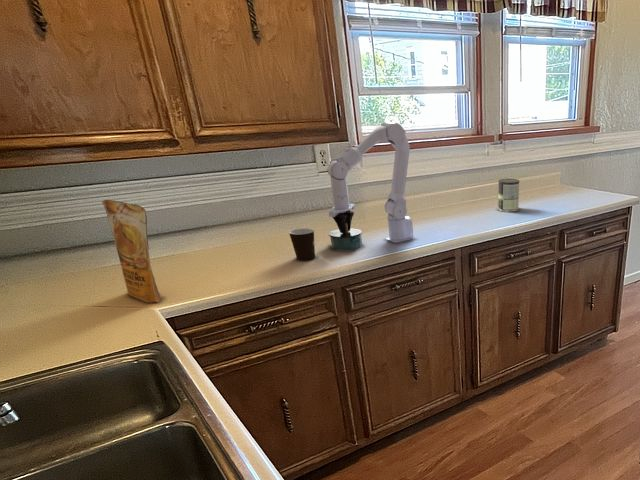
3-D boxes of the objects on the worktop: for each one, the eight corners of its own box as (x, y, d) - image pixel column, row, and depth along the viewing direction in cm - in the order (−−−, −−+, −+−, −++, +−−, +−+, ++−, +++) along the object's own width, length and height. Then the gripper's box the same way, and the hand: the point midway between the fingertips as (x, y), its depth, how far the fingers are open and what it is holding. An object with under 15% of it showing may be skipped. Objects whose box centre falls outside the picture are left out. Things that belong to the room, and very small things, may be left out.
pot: (350, 240, 212) (348, 227, 210) (371, 249, 201) (369, 235, 198) (324, 245, 206) (322, 231, 203) (343, 255, 194) (341, 241, 192)
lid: (352, 229, 209) (351, 217, 206) (368, 235, 200) (366, 223, 198) (323, 234, 202) (321, 223, 199) (338, 241, 193) (336, 229, 191)
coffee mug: (311, 262, 187) (306, 235, 182) (289, 261, 188) (284, 233, 183) (325, 253, 197) (321, 226, 192) (305, 251, 198) (300, 225, 193)
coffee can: (494, 210, 259) (494, 180, 253) (505, 206, 267) (505, 177, 260) (511, 212, 254) (512, 182, 247) (522, 208, 262) (523, 179, 255)
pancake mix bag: (143, 287, 165) (113, 197, 152) (175, 299, 156) (146, 204, 143) (120, 293, 160) (87, 201, 147) (152, 306, 151) (120, 209, 138)
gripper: (342, 191, 201) (346, 226, 207) (319, 198, 189) (325, 235, 196) (358, 192, 199) (362, 227, 205) (336, 199, 187) (341, 237, 193)
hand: (345, 231), depth 200 cm, fingers closed on lid, 2 cm apart
